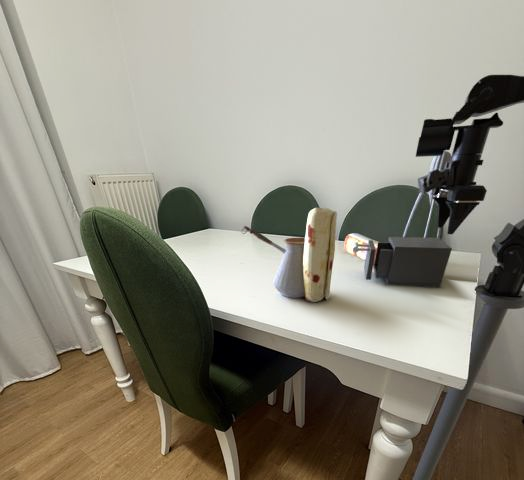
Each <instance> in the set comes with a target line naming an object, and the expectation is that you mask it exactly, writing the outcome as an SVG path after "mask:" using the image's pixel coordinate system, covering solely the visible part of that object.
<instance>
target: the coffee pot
mask: <svg viewBox="0 0 524 480" xmlns="http://www.w3.org/2000/svg"><path fill="white" fill-rule="evenodd" d="M244 230H245V232H244ZM247 232H249V234H250V235H254V236H255V237H256V239H258V240H260V241H262V242H263V243H265V244H268V245H269V246H272V247H273V248H275V249H276V250H278V251H280V252H281V253H282V254H283V256H282V259H281V262H280V264H279V266H278V268H277V271H276V274H275V276H274V278H273V281H272V283H273V286H274V289H276V290H277V291H278V292H279V293H280V295H282V296H283V297H286V298H291V299H300V298H305V289H304V276H303V254H304V244H305V237H289V238H285V239H284V240H283V243H284V244H285V248H286V249H285V248H284V247H282V246H280V245H279V244H277V243H275V242H273V240H270V239H269V238H268V237H266V236H265V235H264V234H262V233H261V232H257V231H256V230H254V229H253V228H250V227H249V226H246V225H244V226H243V228H242V229H241V234H242V235H244V234H246V233H247Z"/></svg>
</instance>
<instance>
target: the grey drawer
mask: <svg viewBox="0 0 524 480" xmlns="http://www.w3.org/2000/svg"><path fill="white" fill-rule="evenodd" d="M373 240H374V239H372V240H368V244H358V243H357V242H354V243H353V245H352V246H353V252H354V253H357V252H358V251H367V253H366V259H365V261H364V267H363V269H364V274H365V280H372V274H373V271H374V274H375V275H374V276H375V278H377V279H385V278H388V276H389V271H390V266H391V261H392V256H393V252H394V249H393V247H392V245H391V243H390V242H388V241H378V245H377V251H376V249H375V246H374V243H373ZM359 247H367V248H359ZM375 252H376V256H375ZM374 257H375V262H374ZM373 263H374V266H373Z"/></svg>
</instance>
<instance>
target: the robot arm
mask: <svg viewBox="0 0 524 480" xmlns="http://www.w3.org/2000/svg"><path fill="white" fill-rule="evenodd" d="M518 104H524V75H515V74H489V75H486V76H484V77H482V78H480V79H479V80H478V81H476V83H475V84H474V85H473V86H472V88H471V89H470V90H469V92H468V94H467V96H466V99H465V101H464V105H463V106H462V107H461V108H460V109H459V110H458V111H455V113H454V115H453V117H451V118H439V119H438V118H437V119H434V118H433V119H432V118H426V119H424V120H423V123H422V128H421V131H420V136H419V137H418V141H417V147H416V152H415V158H420V157H421V158H422V157H435V156H443V153H444V151H450V150H451V147H452V144H453V139H454V136H455V132H457V133H456V136H455V141H454V145H453V149H452V151H451V159H450V161H447V163H446V164H445V167H444V169H442V170H440V171H439V170H438V169H435V170H434V171H430V170H429V171H428V173H427V174H426V175H423V176H420V177H418V178H417V183H418V184H417V185H418V186H417V187H418V193H422V194H423V193H424V194H427V193H429V191H430V190H432V193H431V195H436V197H432V198H433V199H434V200H435V203H436V204H437V229H438V228H441V229H443V228H444V226H445V224H446V223H447V221H448V224H447V235H454V233H455V232H456V231H457V230H458V229H459V227H460V226H461V225H462V224H463V222H464V221H465V220H466V218H467V217H468V216H469V215H470V214H471V213H472V212H473V211H474V210H475V208H476V207H477V206H479V205H480V204H481V202H484V200H485V198H486V194H487V192H488V190H487V188H486V186H484V185H482V184H477V181H475V178H476V175H477V171H478V169H479V166H483V163H484V159H482V155H483V152H484V149H485V146H486V143H487V139H488V137H489V134H490V130H491V129H498V128H500V127H502V126H503V125H504V121H503V120H502V119H501V118H500V116H499V113H498V111H500V110H503V109H507V108H509V107H512V106H516V105H518ZM492 113H494V114H492ZM488 114H492V115H491V117H485V118H479V117H482V116H486V115H488ZM471 118H474V119H473V120H472V122H471V124H469V125H467V124H466V125H462V124H463V123H464V122H466V121H467V120H469V119H471ZM455 125H457V126H455ZM424 194H423V195H424ZM493 240H494V242H493V243H492V245H491V252H492V254H493V256H494V257H495V258H496V263H497V264H498V265H494V267H493V268H492V271H490V272H489V273H488V276H487V278H486V280H485V283H484V285H485V286H483V288H484V289H485V290H486V291H487V292H488V293H489V294H491V295H492V296H503V297H520V298H522V297H523V295H522V294H520V291H521V290H522V289H523V287H524V218H523V219H521V220H520V221H519V222H516V224H512V223H511V222H507V223H506V224H505V226H504V227H503V228H502V230H501V231H500V232H499V234H498V235H496V236H494V237H493Z"/></svg>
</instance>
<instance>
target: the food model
mask: <svg viewBox="0 0 524 480" xmlns="http://www.w3.org/2000/svg"><path fill="white" fill-rule="evenodd" d="M337 217H338V213H337V211H336V210H332V209H330V208H328V207H314V208H313V209H311V210H310V211H309V212H308V215H307V220H306V227H305V228H306V229H305V236H304V238H305V244H304V254H303V276H304V289H305V297H304V298H305V301H307V302H311V303H317V302H320V301H322V300H323V299H324V298H325V300H328V299H329V296H330V292H331V291H330V290H331V281H332V273H333V266H334V260H335V252H336V233H337V232H336V231H337Z"/></svg>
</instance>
